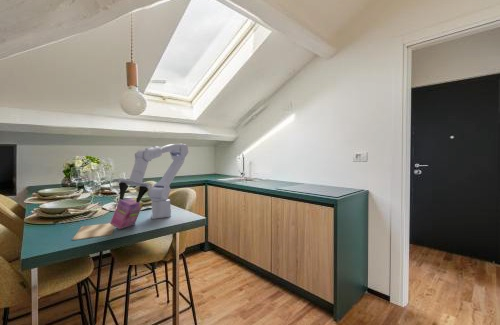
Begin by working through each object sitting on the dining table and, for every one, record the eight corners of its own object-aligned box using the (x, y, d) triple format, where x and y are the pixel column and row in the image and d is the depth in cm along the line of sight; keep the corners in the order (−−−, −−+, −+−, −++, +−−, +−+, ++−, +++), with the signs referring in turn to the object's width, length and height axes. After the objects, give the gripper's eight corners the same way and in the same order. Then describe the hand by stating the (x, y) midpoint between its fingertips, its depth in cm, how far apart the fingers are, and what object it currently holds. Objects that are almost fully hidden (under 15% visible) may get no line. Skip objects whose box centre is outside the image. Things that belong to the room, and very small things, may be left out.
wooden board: (115, 223, 121) (115, 222, 121) (111, 235, 105) (111, 234, 105) (81, 227, 116) (81, 226, 116) (72, 240, 99) (72, 239, 99)
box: (120, 229, 109) (129, 204, 109) (109, 224, 110) (119, 199, 110) (135, 224, 119) (144, 202, 119) (125, 219, 120) (134, 197, 120)
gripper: (119, 167, 116) (109, 196, 111) (150, 173, 116) (141, 201, 112) (125, 172, 122) (116, 198, 118) (154, 177, 123) (146, 204, 118)
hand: (129, 200), depth 115 cm, fingers open, 7 cm apart
